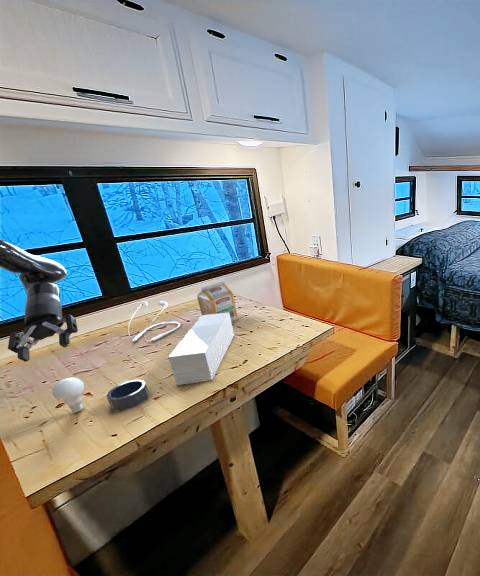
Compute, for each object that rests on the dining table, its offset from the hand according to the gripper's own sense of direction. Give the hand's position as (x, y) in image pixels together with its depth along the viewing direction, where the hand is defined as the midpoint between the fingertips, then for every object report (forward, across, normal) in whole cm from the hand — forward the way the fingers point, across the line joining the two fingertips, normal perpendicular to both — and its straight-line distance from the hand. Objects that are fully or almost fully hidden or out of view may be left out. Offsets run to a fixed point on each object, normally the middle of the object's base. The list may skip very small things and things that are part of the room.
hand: (44, 352), depth 85 cm
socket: (+17, +12, +15) cm, 25 cm away
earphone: (-25, +15, +40) cm, 50 cm away
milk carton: (-19, +40, +42) cm, 61 cm away
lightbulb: (+13, -1, +14) cm, 20 cm away
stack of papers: (+7, +33, +26) cm, 43 cm away
